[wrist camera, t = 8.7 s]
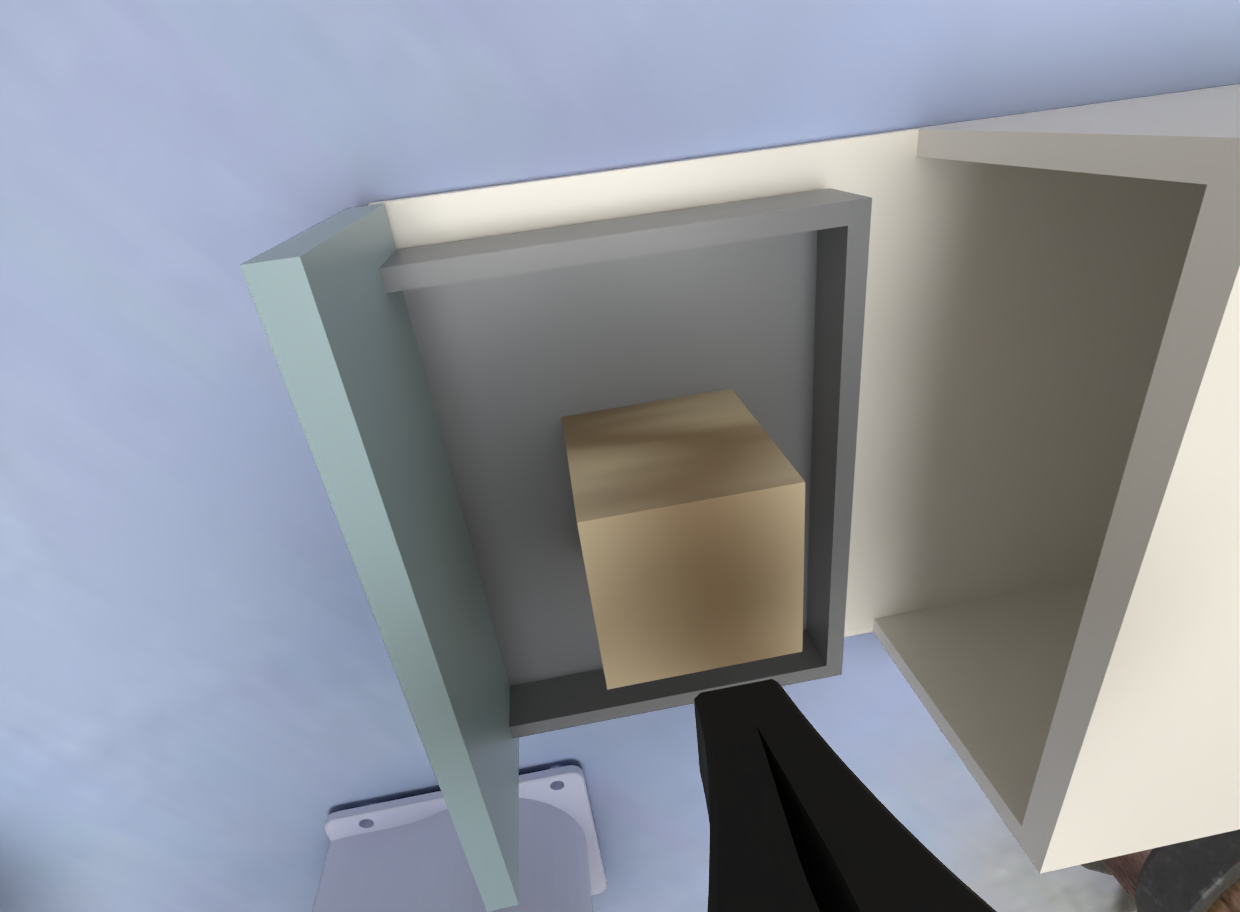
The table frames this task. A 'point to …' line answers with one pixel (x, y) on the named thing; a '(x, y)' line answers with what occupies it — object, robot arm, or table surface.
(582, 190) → the console box
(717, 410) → the birch block
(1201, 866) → the tankard
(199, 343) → the table surface
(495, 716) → the teal drawer
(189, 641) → the table surface
